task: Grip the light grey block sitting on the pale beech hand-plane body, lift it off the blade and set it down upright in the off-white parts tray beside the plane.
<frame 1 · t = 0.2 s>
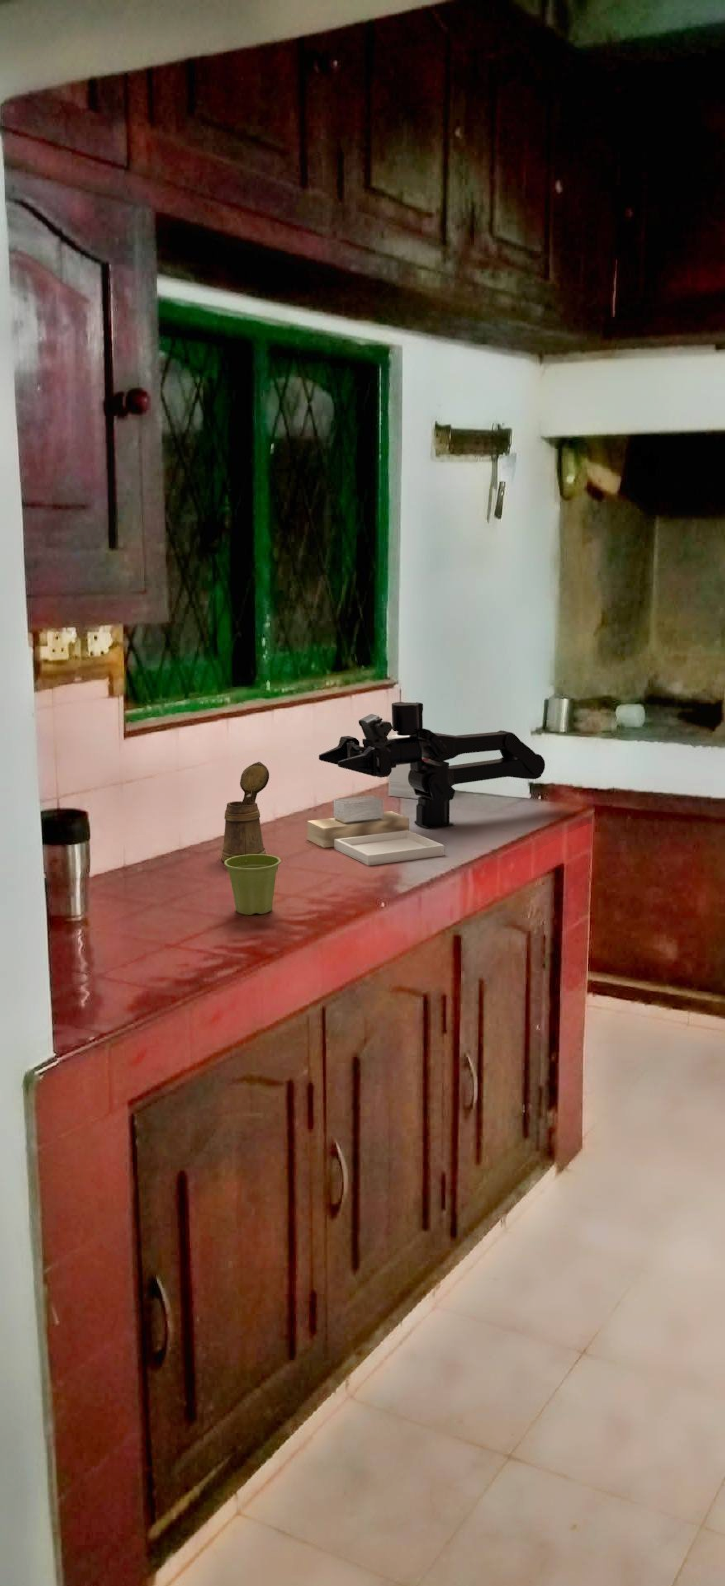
hand: (328, 760, 258), 17 cm above the worktop, tool horizontal, fingers open, 9 cm apart
light grey block: (358, 818, 261), point 4 cm above the worktop, touching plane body
supplement box: (412, 795, 306), on the worktop
parts tray: (388, 852, 250), on the worktop
plant pot: (254, 911, 211), on the worktop
wooden mug: (248, 857, 248), on the worktop
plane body: (358, 838, 262), on the worktop
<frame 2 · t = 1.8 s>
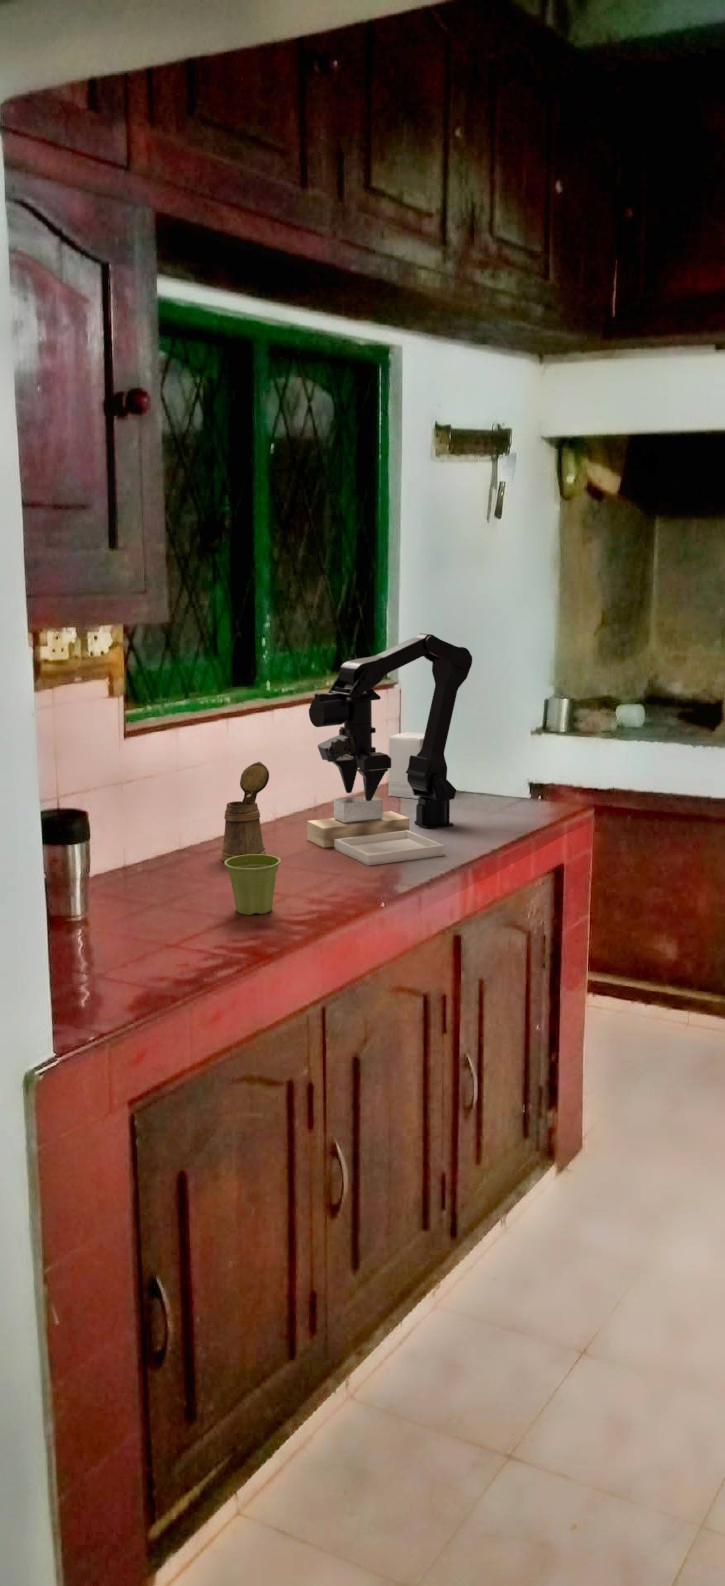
hand: (358, 796, 260), 9 cm above the worktop, tool pointing down, fingers open, 9 cm apart
nothing on the worktop moved.
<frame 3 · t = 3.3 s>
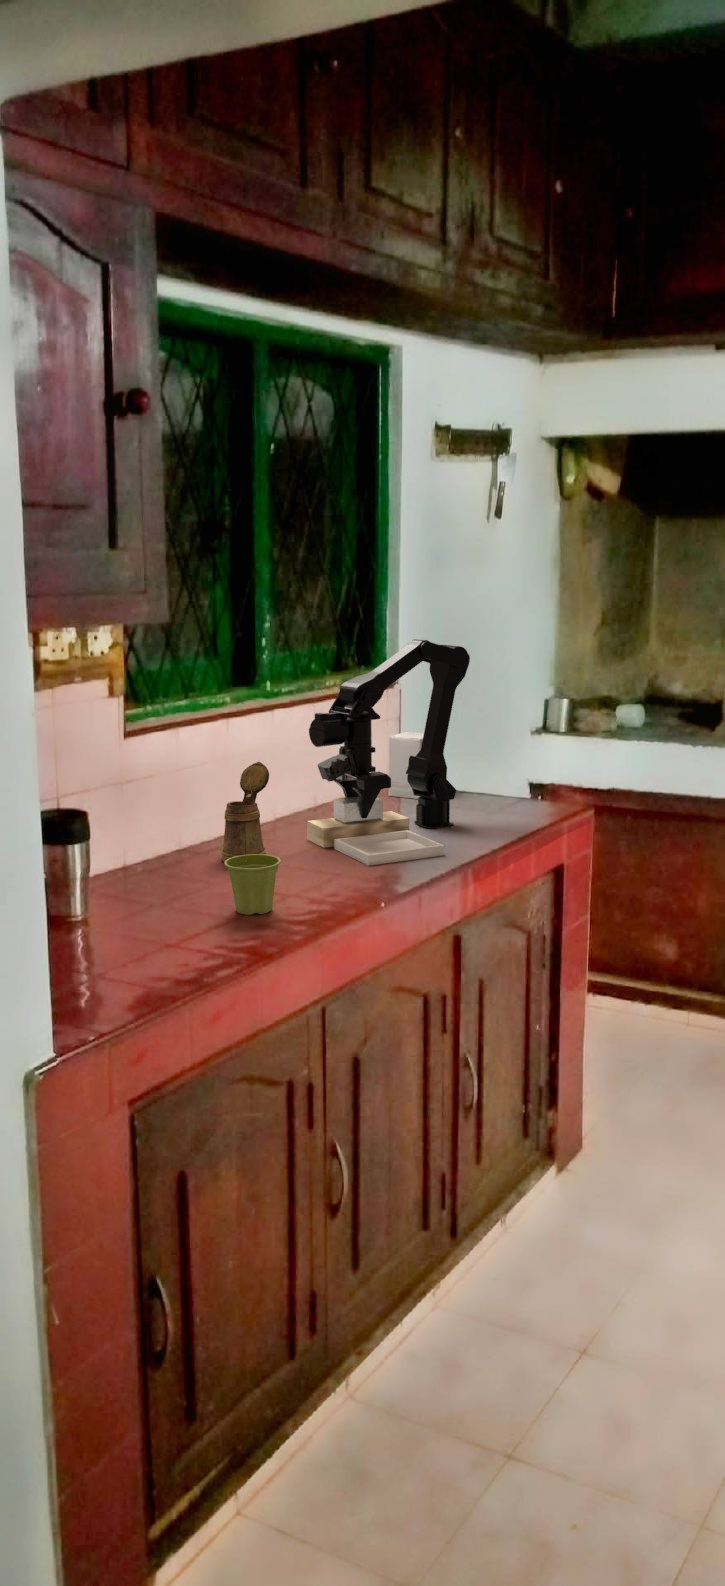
hand: (358, 815, 261), 5 cm above the worktop, tool pointing down, fingers closed on light grey block, 5 cm apart
light grey block: (358, 818, 261), point 4 cm above the worktop, touching gripper, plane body
everything else where it was.
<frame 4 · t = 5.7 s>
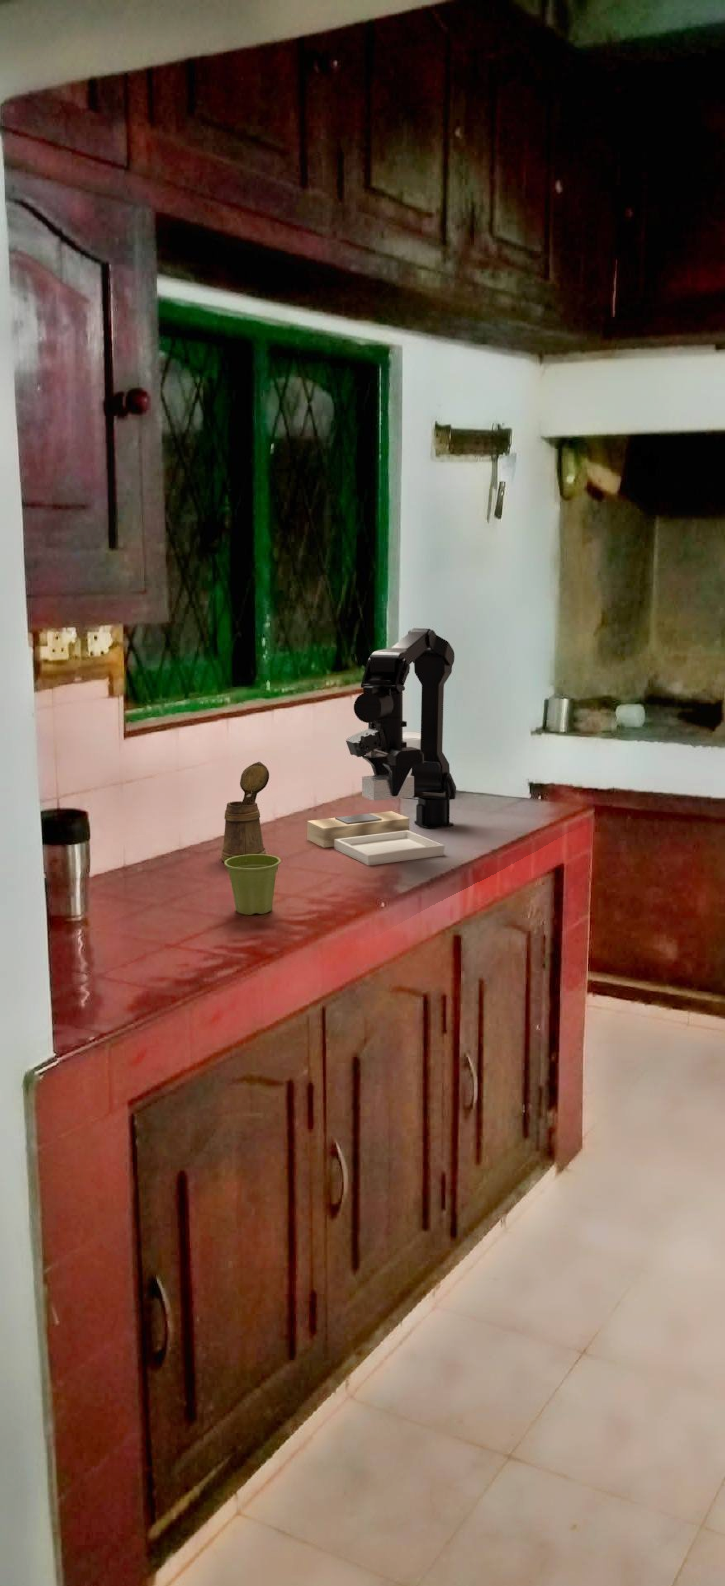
hand: (388, 793, 247), 12 cm above the worktop, tool pointing down, fingers closed on light grey block, 5 cm apart
light grey block: (388, 796, 248), point 11 cm above the worktop, touching gripper
everything else where it was.
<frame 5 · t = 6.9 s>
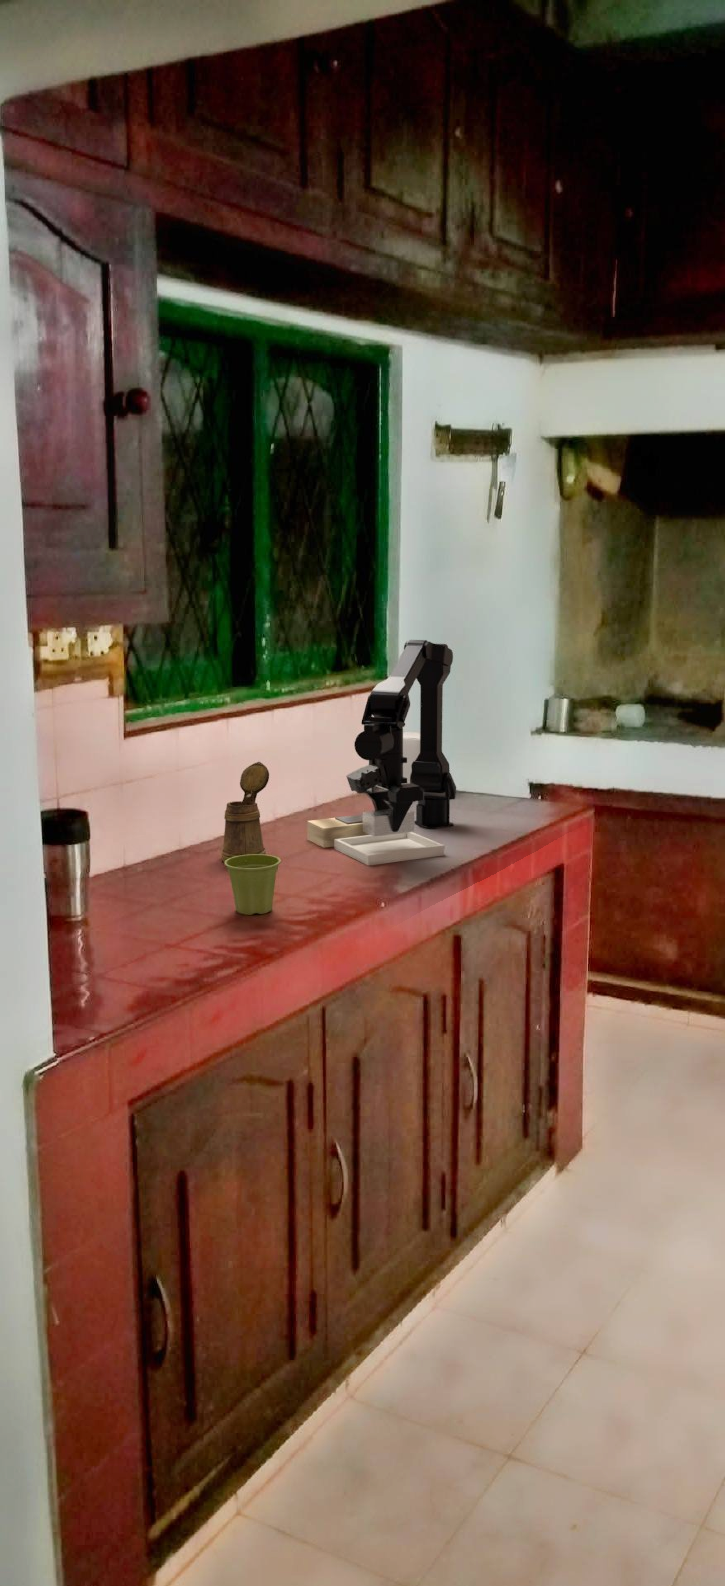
hand: (388, 829, 249), 5 cm above the worktop, tool pointing down, fingers closed on light grey block, 5 cm apart
light grey block: (388, 831, 249), point 4 cm above the worktop, touching gripper
everything else where it was.
when the fingers open (3 cm above the worktop, at t = 8.1 s): light grey block drops 2 cm, resting on parts tray.
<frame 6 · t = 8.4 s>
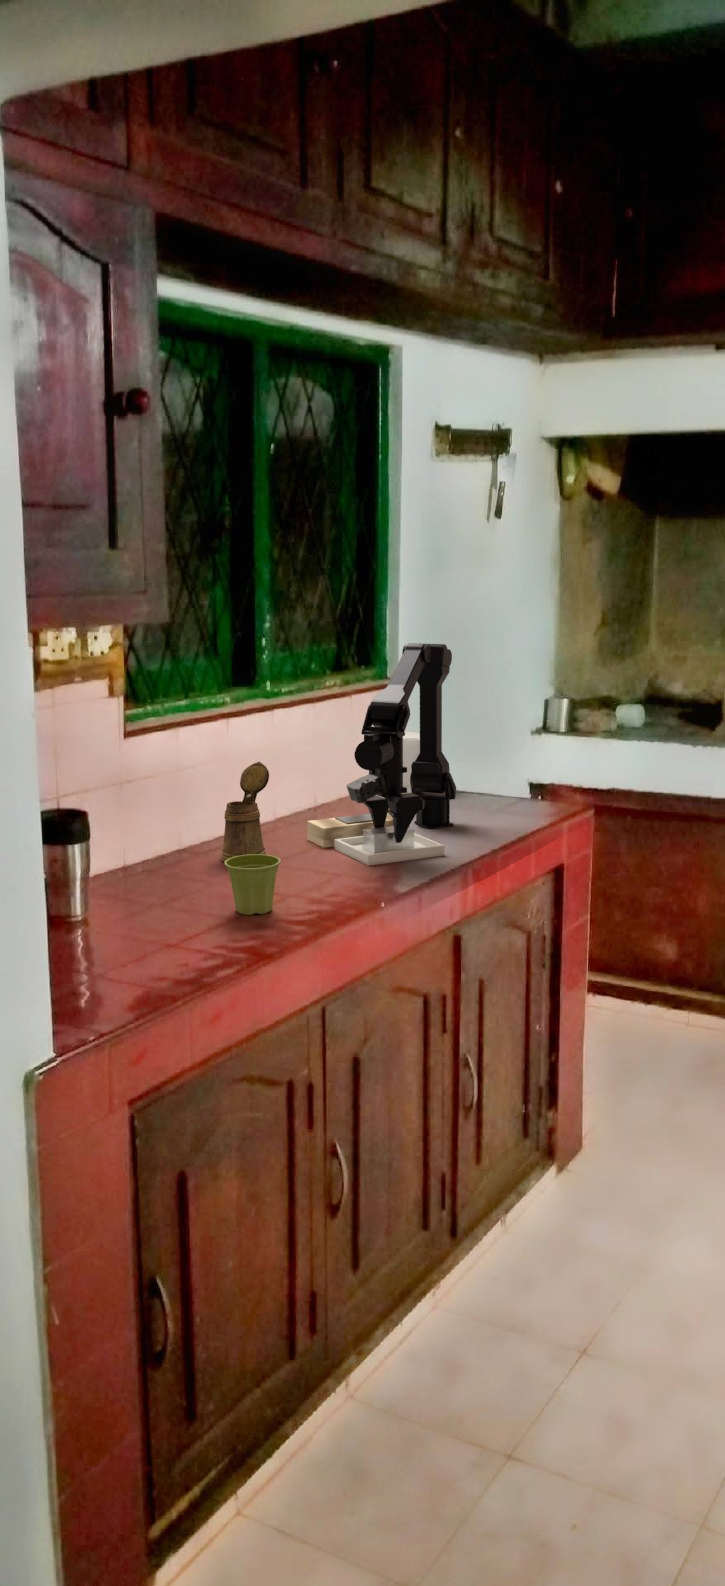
hand: (388, 838, 249), 3 cm above the worktop, tool pointing down, fingers open, 8 cm apart
light grey block: (388, 849, 250), point 1 cm above the worktop, touching parts tray
everything else where it was.
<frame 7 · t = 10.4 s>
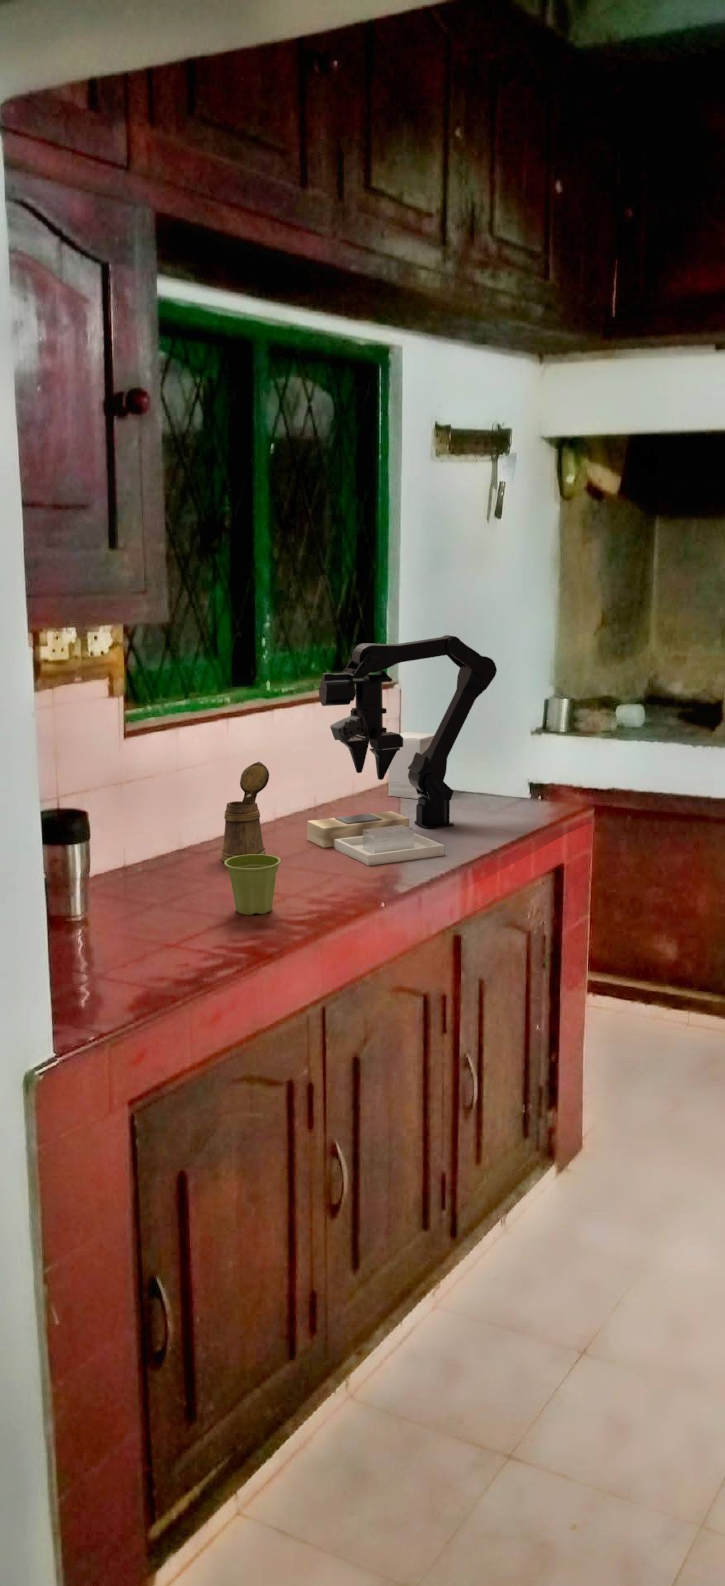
hand: (369, 776, 266), 12 cm above the worktop, tool pointing down, fingers open, 9 cm apart
nothing on the worktop moved.
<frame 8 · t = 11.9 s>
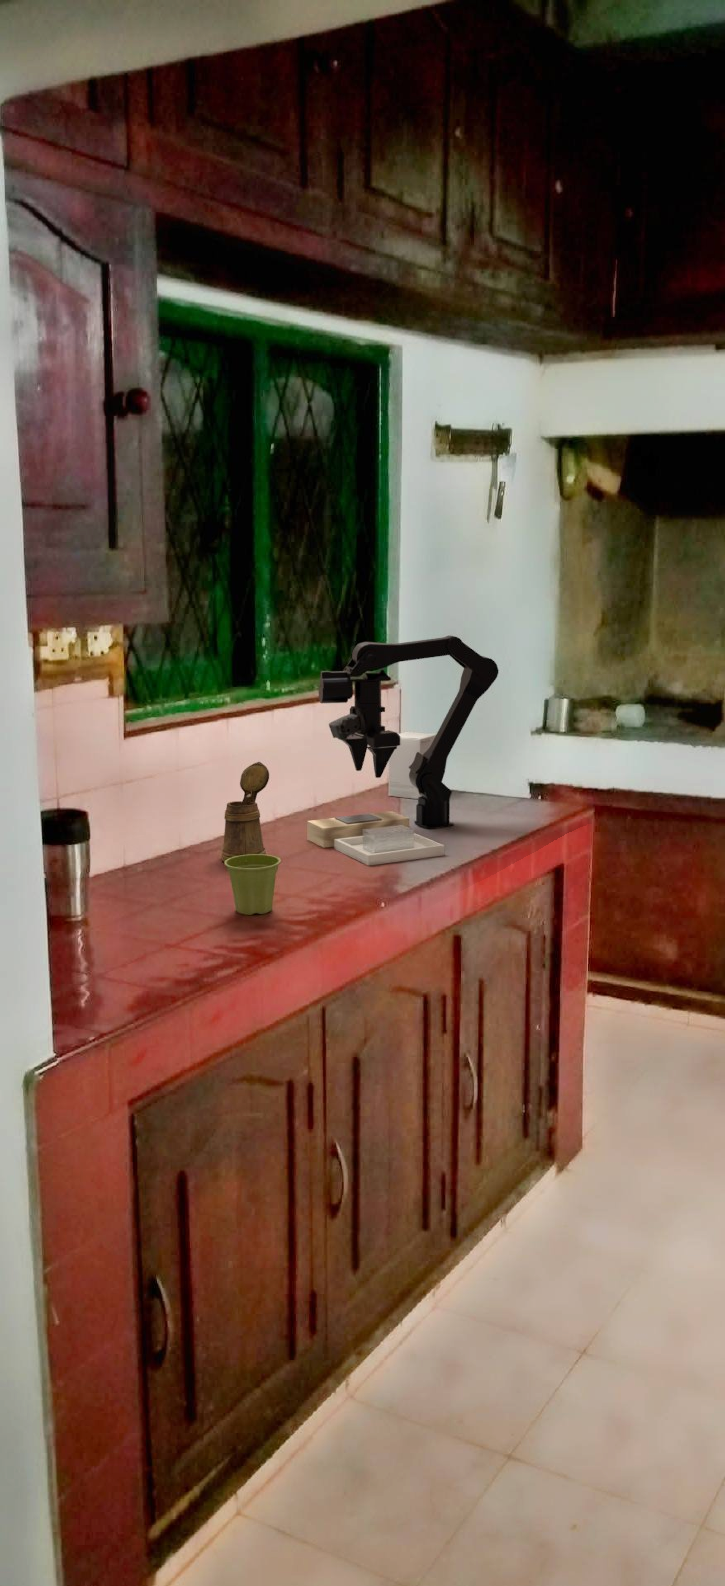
hand: (368, 774, 268), 12 cm above the worktop, tool pointing down, fingers open, 9 cm apart
nothing on the worktop moved.
at the end: light grey block inside the target area on the parts tray (0.0 cm from its centre), point 0.6 cm above the parts tray's base; light grey block tilted 0°; light grey block touching parts tray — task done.
